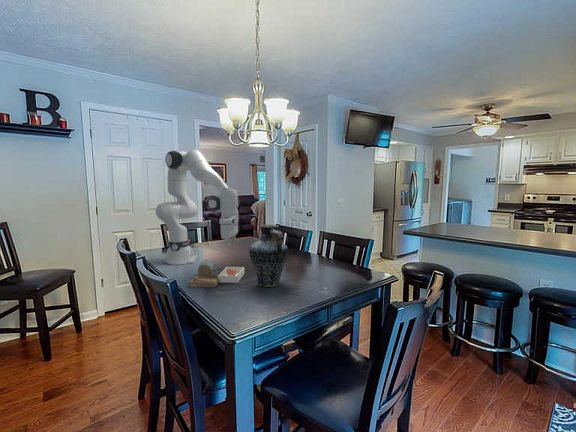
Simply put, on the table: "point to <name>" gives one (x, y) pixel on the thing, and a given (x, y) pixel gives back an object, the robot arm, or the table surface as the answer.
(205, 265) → the ceramic mug
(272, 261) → the jug
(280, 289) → the table surface
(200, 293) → the table surface
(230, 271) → the ball
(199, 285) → the tray
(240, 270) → the white storage bin
